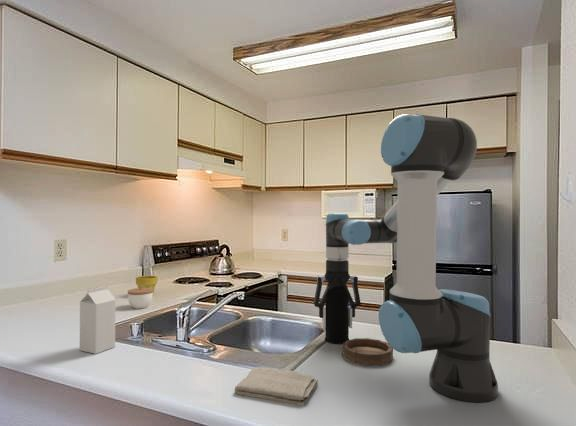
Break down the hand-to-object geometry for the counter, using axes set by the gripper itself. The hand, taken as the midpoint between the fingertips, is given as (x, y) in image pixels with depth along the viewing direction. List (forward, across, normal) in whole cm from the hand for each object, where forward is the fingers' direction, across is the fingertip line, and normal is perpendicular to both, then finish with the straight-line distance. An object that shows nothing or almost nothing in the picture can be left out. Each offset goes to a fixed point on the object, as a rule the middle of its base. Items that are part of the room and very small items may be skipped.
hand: (337, 327), depth 127 cm
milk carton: (+4, +76, +3) cm, 76 cm away
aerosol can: (+4, 0, 0) cm, 4 cm away
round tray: (+4, -6, +15) cm, 17 cm away
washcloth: (+5, +22, +34) cm, 41 cm away
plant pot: (+4, +83, -75) cm, 112 cm away
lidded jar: (+5, +79, -51) cm, 94 cm away
